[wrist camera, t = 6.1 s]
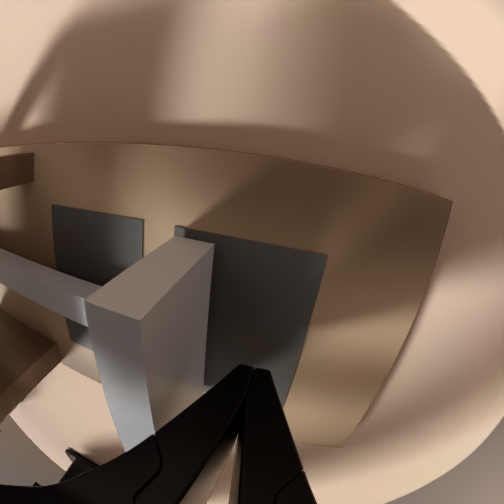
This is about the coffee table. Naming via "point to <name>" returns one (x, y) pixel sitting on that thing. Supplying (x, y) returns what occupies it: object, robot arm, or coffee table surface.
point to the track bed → (240, 261)
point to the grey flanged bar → (135, 328)
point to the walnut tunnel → (12, 330)
